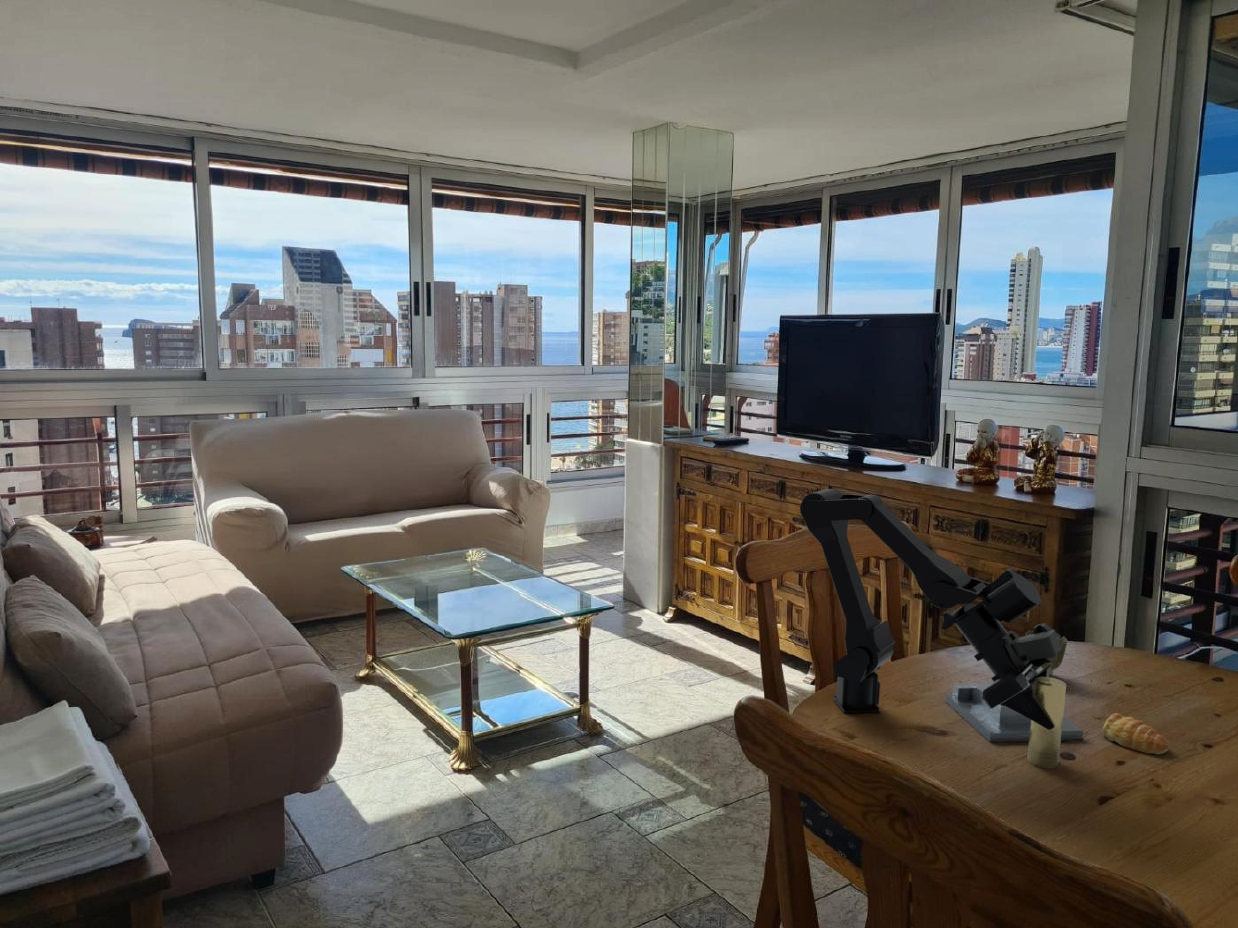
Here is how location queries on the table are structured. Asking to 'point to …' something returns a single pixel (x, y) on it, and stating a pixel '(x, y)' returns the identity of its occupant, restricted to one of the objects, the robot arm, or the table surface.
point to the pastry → (1134, 734)
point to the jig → (997, 716)
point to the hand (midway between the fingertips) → (1056, 723)
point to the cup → (1058, 659)
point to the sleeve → (1041, 739)
